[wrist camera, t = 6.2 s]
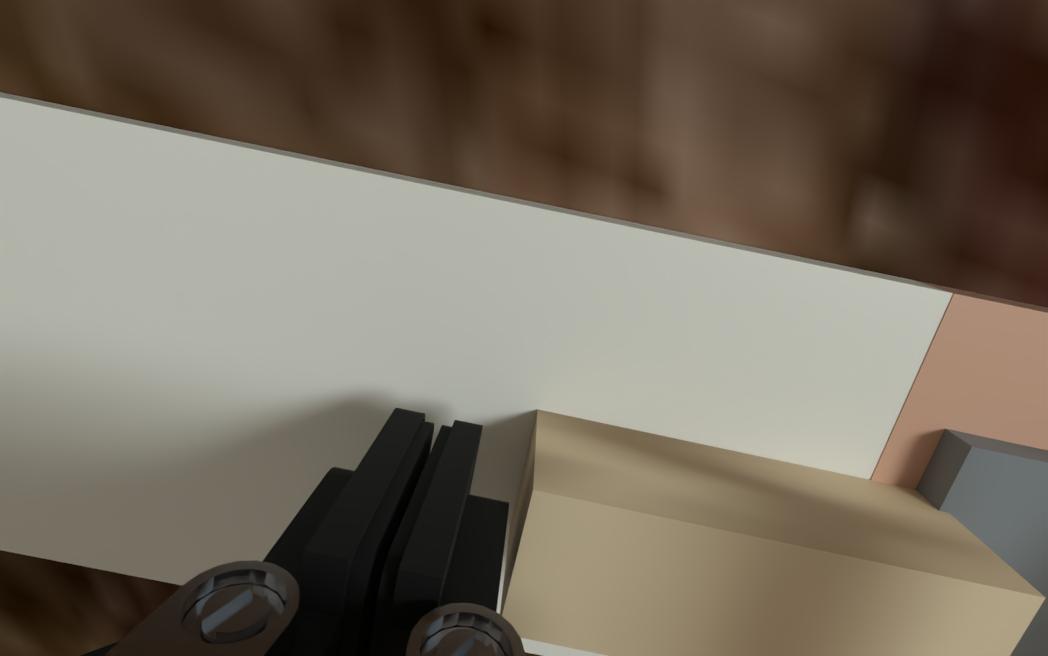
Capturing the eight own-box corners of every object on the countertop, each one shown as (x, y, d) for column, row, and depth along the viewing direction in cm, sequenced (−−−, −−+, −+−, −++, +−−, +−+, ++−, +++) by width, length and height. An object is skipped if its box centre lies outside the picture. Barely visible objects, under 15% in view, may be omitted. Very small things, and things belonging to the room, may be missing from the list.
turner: (497, 576, 12) (482, 695, 9) (553, 344, 10) (553, 407, 8) (1111, 704, 12) (1268, 855, 10) (1261, 496, 11) (1499, 608, 8)
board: (-25, 87, 11) (-96, 77, 10) (1339, 367, 11) (1432, 392, 10) (16, 511, 14) (-34, 544, 12) (1093, 722, 14) (1142, 772, 13)
